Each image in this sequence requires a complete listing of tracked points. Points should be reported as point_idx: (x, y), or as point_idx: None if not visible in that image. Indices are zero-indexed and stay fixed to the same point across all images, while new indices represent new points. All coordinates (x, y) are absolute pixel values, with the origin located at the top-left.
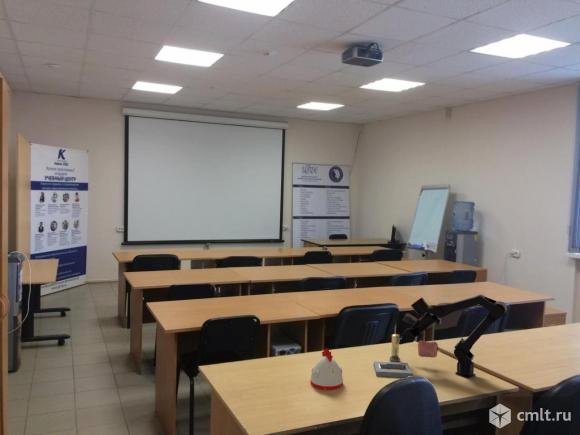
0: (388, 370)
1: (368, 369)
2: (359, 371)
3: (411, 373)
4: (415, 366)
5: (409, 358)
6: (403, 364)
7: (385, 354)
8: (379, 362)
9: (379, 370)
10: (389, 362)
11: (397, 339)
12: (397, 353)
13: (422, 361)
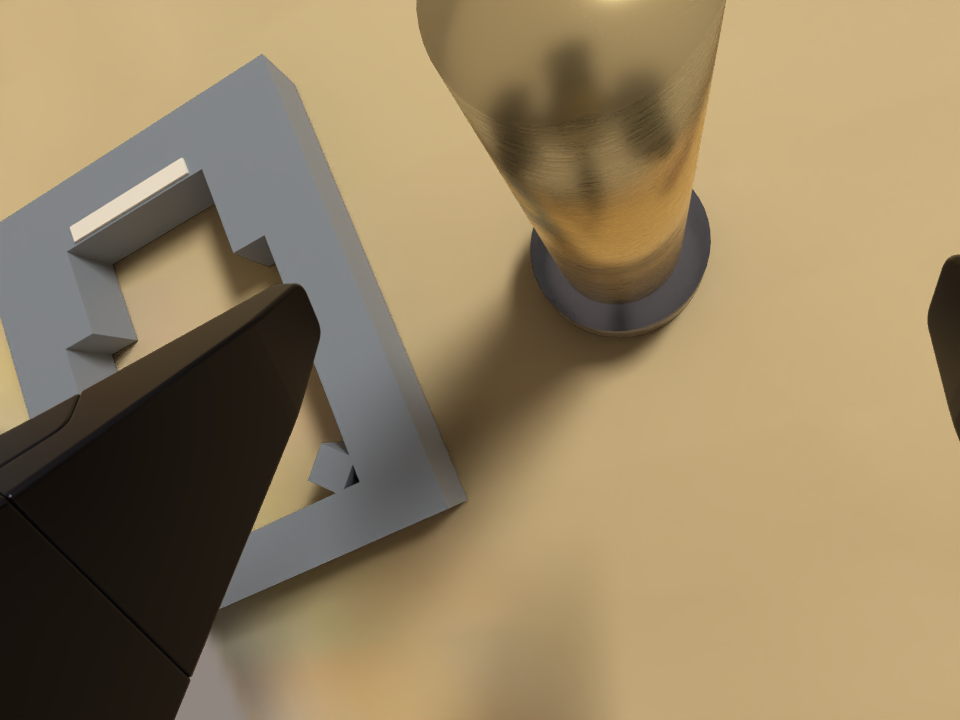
0: (55, 350)
1: (152, 97)
2: (62, 47)
3: None
4: (561, 607)
5: (917, 429)
6: (349, 466)
7: (867, 2)
8: (257, 138)
9: (16, 254)
10: (324, 256)
11: (502, 157)
12: (572, 274)
13: (894, 683)
